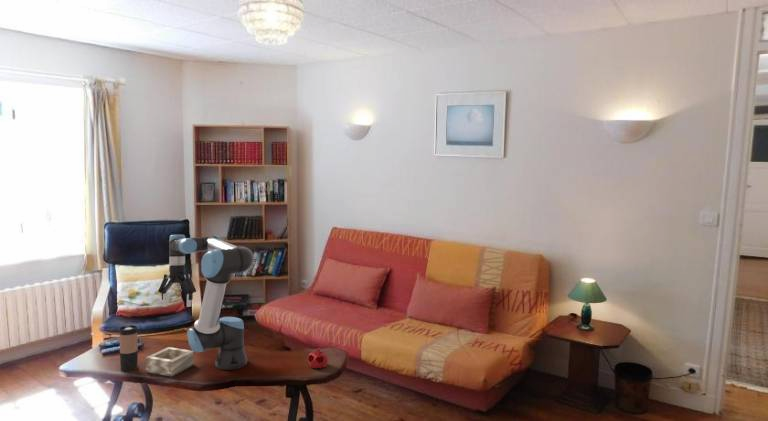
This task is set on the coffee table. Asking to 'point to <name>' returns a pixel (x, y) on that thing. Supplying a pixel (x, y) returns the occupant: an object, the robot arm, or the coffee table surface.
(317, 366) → the pomegranate
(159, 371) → the well
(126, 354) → the travel mug
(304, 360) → the coffee table surface
